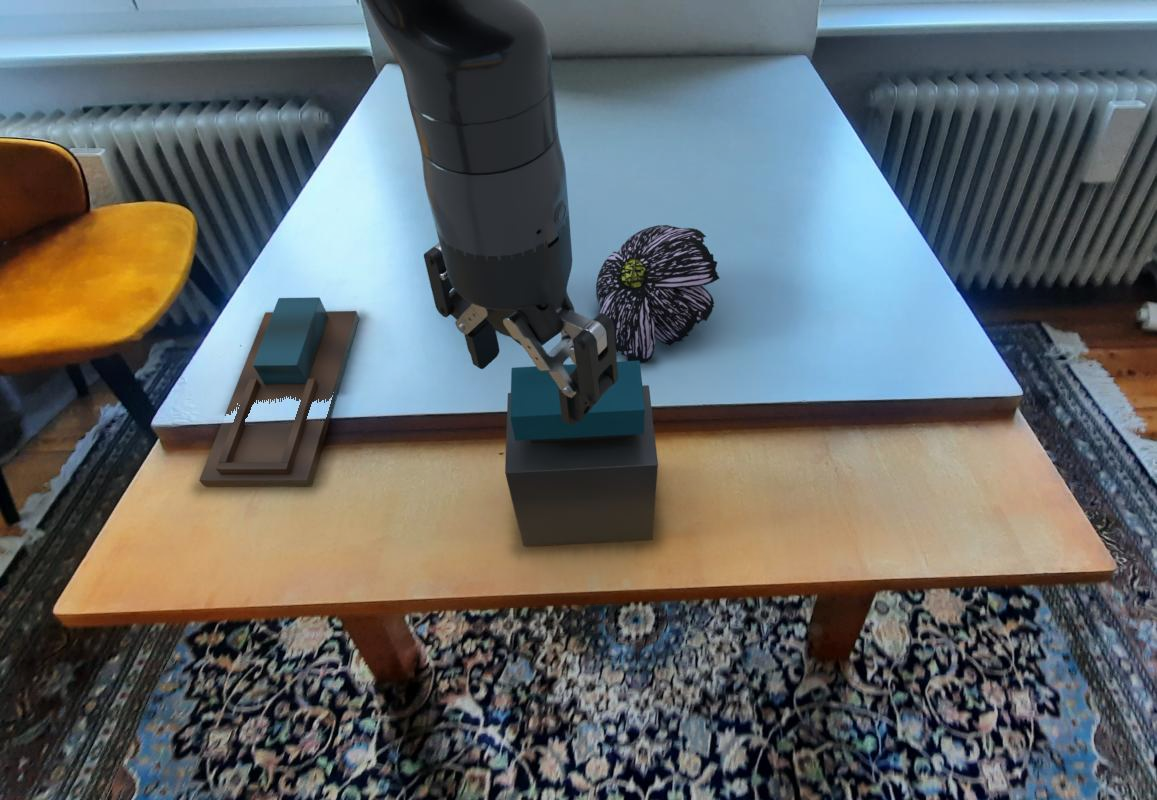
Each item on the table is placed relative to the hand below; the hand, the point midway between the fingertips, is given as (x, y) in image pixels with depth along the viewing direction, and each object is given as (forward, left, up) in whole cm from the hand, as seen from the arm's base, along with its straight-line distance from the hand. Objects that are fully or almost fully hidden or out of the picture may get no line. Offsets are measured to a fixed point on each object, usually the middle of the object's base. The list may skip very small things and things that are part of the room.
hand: (530, 387), depth 53 cm
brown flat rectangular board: (-3, +33, -20) cm, 39 cm away
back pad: (+3, -2, -5) cm, 6 cm away
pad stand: (+3, -2, -20) cm, 20 cm away
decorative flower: (+27, +5, -20) cm, 34 cm away
